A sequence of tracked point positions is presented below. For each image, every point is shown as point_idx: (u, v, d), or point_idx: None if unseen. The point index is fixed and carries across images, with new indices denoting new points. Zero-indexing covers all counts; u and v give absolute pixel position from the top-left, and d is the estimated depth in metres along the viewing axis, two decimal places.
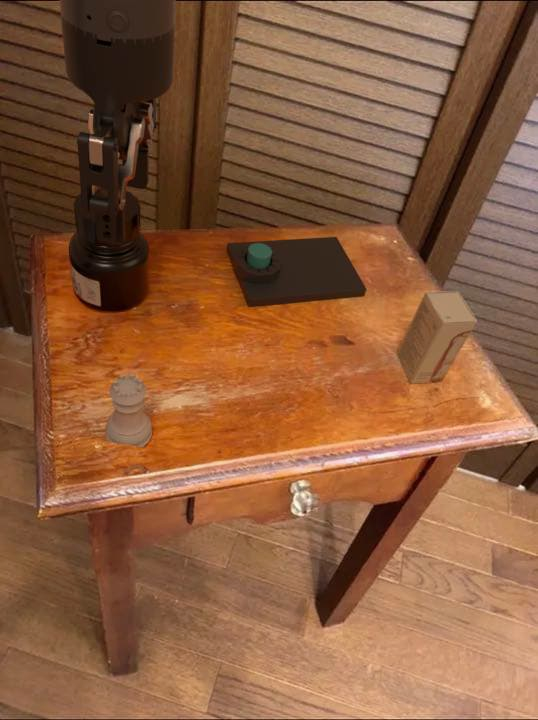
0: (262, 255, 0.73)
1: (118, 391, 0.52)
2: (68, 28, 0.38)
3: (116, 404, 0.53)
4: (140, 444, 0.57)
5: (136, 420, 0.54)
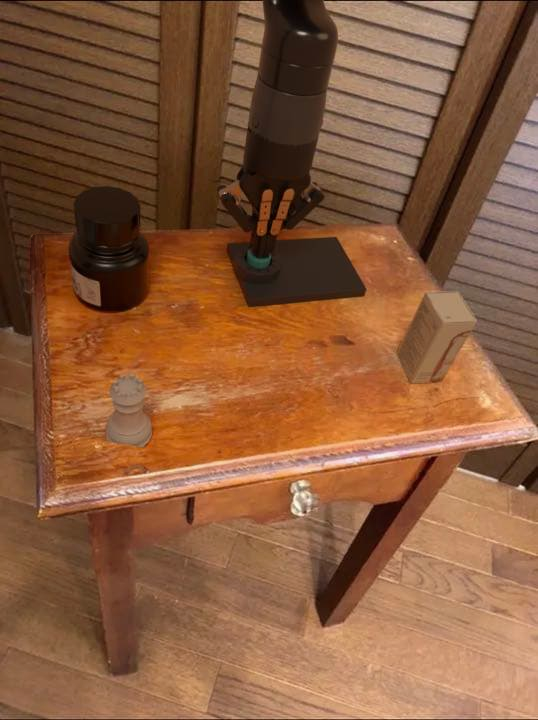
0: (261, 259, 0.73)
1: (118, 391, 0.52)
2: None
3: (116, 404, 0.53)
4: (140, 444, 0.57)
5: (136, 420, 0.54)
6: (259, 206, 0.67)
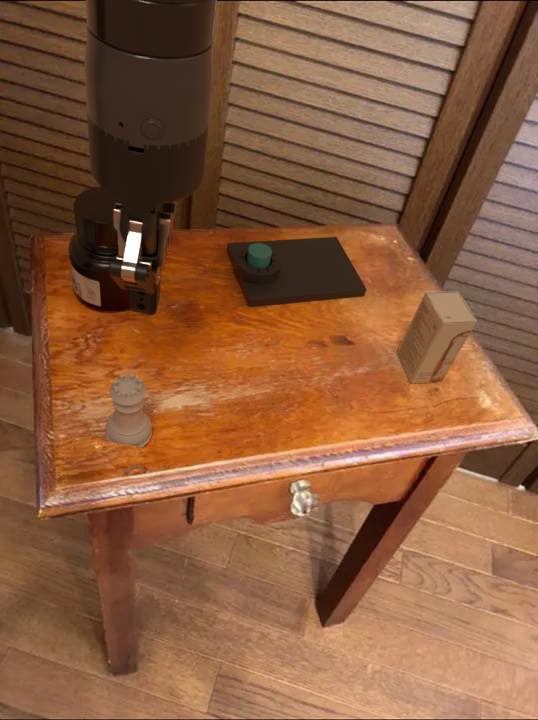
0: (262, 255, 0.73)
1: (118, 391, 0.52)
2: (96, 132, 0.35)
3: (116, 404, 0.53)
4: (140, 444, 0.57)
5: (136, 420, 0.54)
6: (159, 247, 0.42)
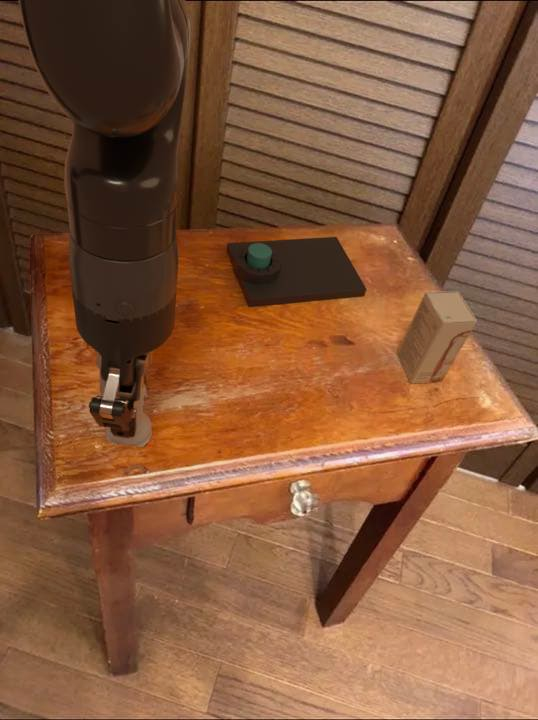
0: (262, 255, 0.73)
1: None
2: (79, 304, 0.41)
3: None
4: (140, 444, 0.57)
5: (136, 419, 0.54)
6: (136, 383, 0.48)
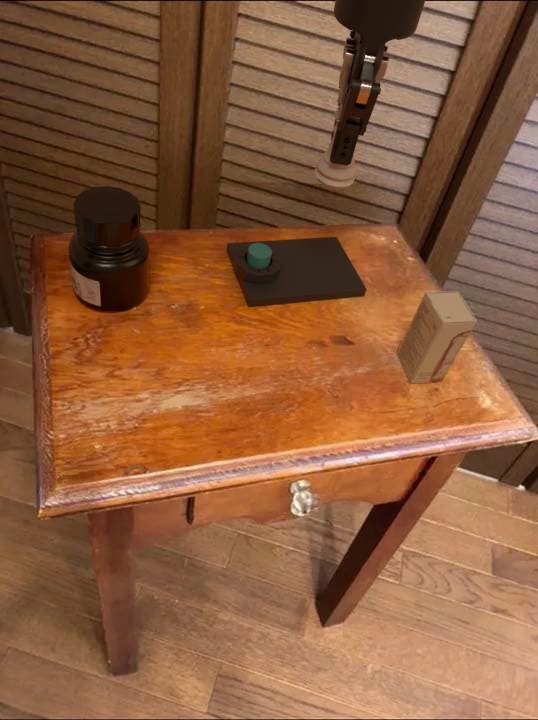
0: (262, 255, 0.73)
1: None
2: None
3: None
4: (348, 182, 0.62)
5: None
6: None
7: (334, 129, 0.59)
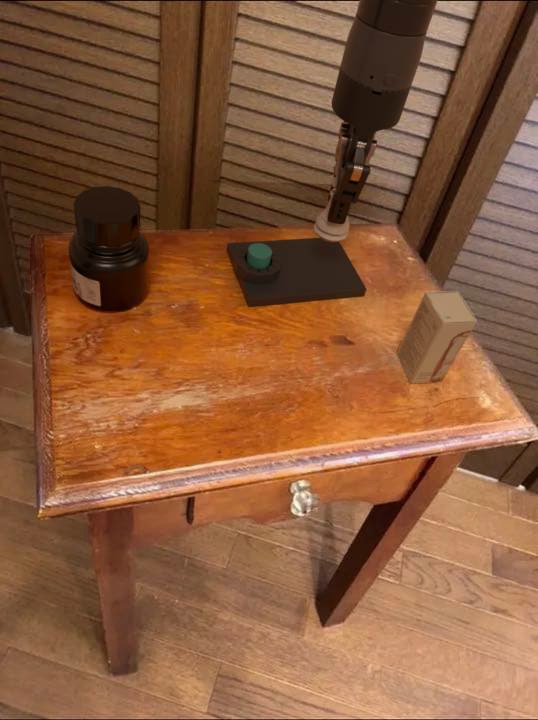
0: (262, 255, 0.73)
1: None
2: (351, 82, 0.58)
3: None
4: (342, 236, 0.73)
5: None
6: (365, 164, 0.65)
7: (331, 194, 0.70)
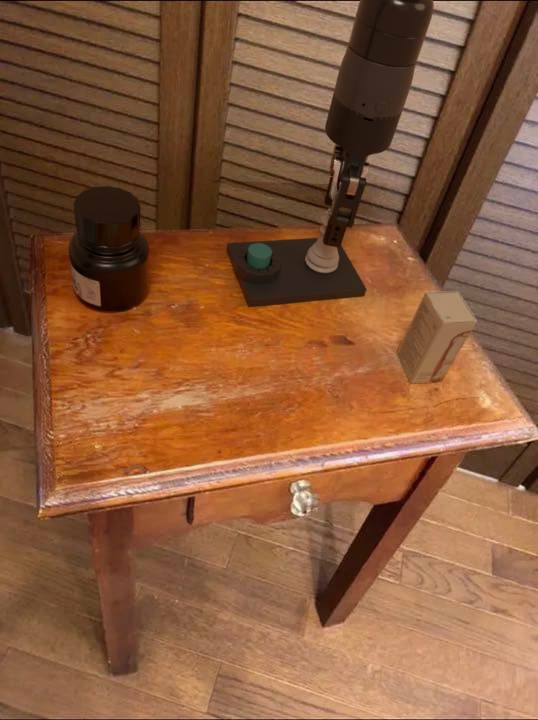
0: (262, 255, 0.73)
1: None
2: (343, 109, 0.60)
3: (324, 231, 0.73)
4: (332, 268, 0.77)
5: None
6: None
7: (321, 229, 0.74)
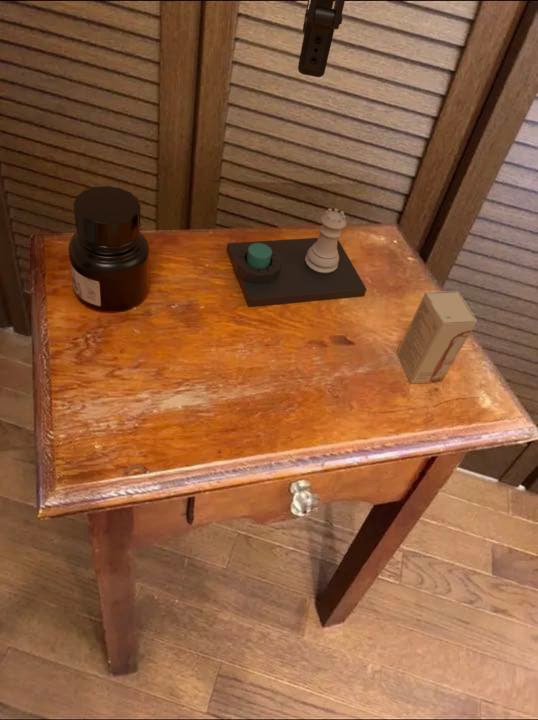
0: (262, 255, 0.73)
1: (329, 218, 0.72)
2: None
3: (324, 231, 0.73)
4: (332, 268, 0.77)
5: (335, 246, 0.75)
6: None
7: (321, 229, 0.74)
